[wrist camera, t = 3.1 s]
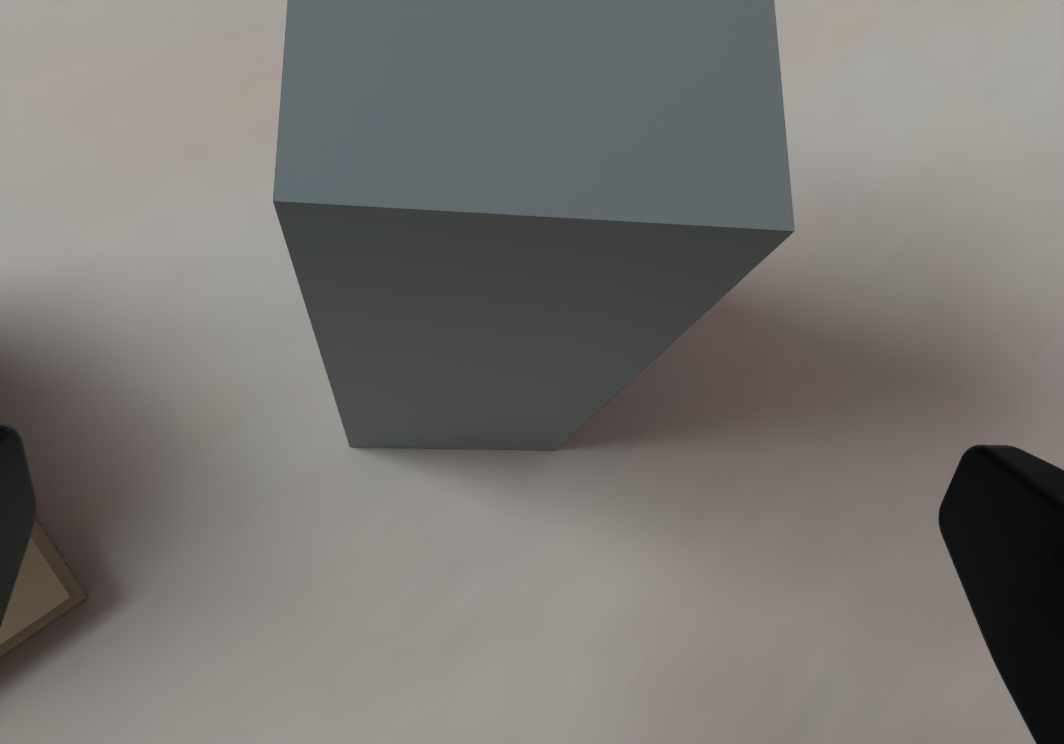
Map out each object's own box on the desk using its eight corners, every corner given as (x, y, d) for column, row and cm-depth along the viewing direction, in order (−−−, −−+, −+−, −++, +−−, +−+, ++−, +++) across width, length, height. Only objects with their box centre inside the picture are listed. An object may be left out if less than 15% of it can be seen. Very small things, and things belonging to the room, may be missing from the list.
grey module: (554, 450, 20) (794, 230, 8) (349, 447, 19) (273, 201, 7) (552, 239, 21) (754, -225, 9) (359, 228, 20) (308, -286, 9)
